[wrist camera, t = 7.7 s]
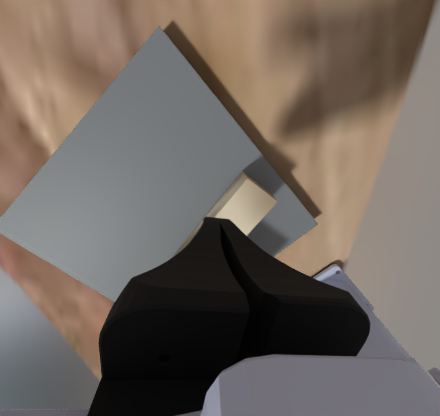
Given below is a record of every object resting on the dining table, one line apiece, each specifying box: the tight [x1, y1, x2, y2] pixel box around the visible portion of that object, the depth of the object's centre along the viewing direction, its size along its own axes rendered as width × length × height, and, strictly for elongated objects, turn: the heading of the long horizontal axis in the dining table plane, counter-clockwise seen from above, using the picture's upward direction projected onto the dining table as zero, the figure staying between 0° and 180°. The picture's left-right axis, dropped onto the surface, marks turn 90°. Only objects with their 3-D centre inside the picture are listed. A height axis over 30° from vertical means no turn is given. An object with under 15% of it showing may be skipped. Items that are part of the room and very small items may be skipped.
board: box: [0, 26, 318, 302], centre depth 19 cm, size 19×20×1 cm
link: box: [173, 171, 278, 257], centre depth 18 cm, size 14×3×4 cm, turn 142°
